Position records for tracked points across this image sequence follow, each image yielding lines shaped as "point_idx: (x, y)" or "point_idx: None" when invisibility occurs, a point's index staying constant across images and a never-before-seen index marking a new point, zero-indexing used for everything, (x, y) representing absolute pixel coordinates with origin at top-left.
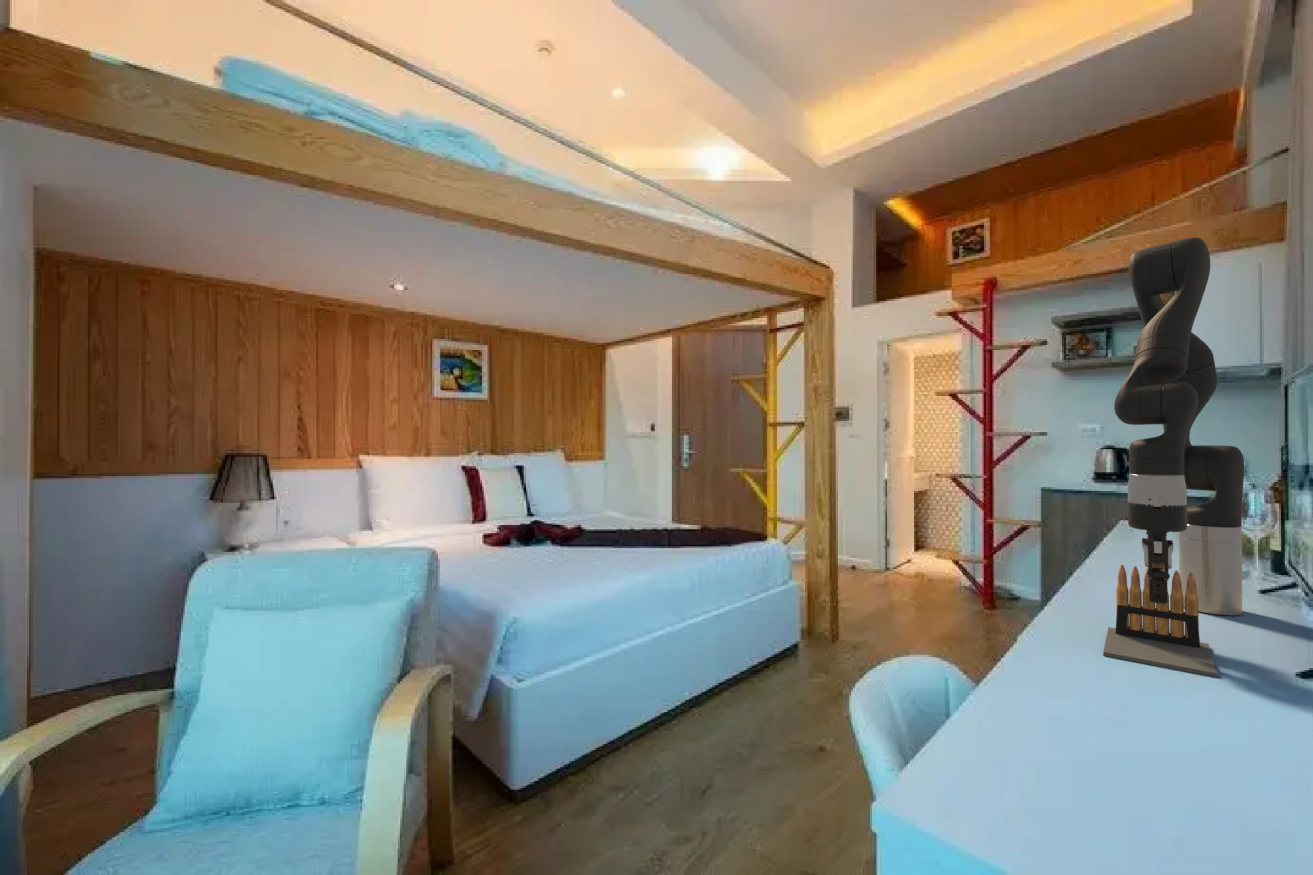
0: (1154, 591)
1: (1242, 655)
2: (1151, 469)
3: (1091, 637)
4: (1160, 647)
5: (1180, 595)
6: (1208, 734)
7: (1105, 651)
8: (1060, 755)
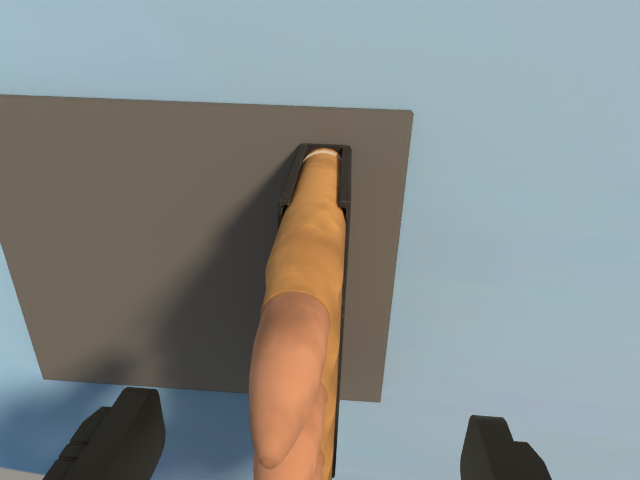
0: (61, 460)
1: (346, 446)
2: None
3: (222, 39)
4: (207, 279)
5: None
6: None
7: None
8: None
